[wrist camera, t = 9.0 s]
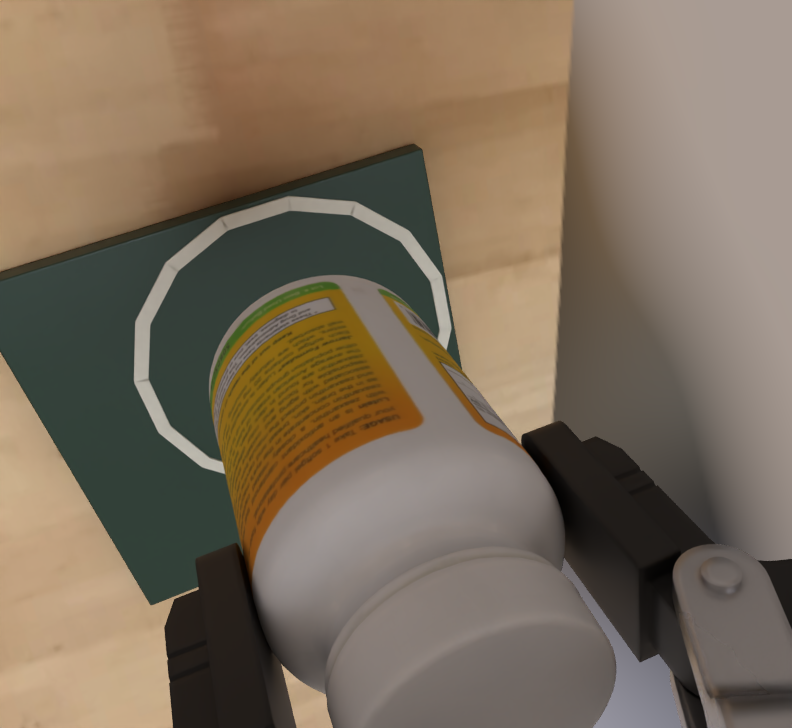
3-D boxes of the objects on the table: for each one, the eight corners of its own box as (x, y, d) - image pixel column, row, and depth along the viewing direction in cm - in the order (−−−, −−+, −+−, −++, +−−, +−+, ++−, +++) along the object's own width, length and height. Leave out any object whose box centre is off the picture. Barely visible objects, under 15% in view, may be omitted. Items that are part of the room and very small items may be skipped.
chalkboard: (414, 142, 33) (423, 149, 32) (474, 464, 43) (482, 476, 42) (-33, 281, 29) (-37, 293, 29) (149, 592, 40) (150, 607, 39)
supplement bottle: (187, 459, 18) (253, 882, 10) (229, 250, 16) (355, 581, 8) (392, 468, 20) (577, 822, 12) (453, 286, 18) (727, 573, 10)
